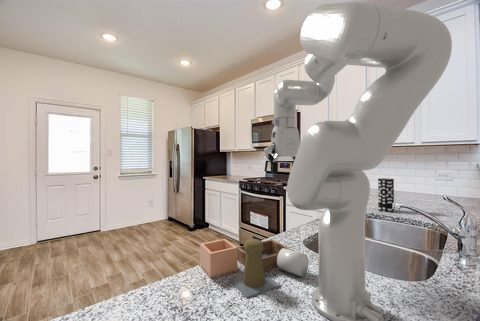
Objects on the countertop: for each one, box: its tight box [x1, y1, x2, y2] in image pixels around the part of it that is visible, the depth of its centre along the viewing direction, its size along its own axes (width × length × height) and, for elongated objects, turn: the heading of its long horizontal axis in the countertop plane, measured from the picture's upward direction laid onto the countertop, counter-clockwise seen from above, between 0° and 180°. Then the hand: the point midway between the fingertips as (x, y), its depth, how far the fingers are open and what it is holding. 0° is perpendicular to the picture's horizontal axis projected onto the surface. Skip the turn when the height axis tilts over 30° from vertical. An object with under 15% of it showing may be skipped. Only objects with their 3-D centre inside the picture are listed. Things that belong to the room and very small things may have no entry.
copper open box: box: [199, 238, 239, 280], centre depth 68 cm, size 9×9×7 cm
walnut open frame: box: [236, 239, 295, 273], centre depth 73 cm, size 12×15×4 cm
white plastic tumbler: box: [277, 248, 309, 278], centre depth 66 cm, size 7×6×6 cm
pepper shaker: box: [243, 238, 265, 288], centre depth 60 cm, size 6×6×11 cm
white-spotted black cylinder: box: [377, 177, 395, 213], centre depth 141 cm, size 8×8×20 cm
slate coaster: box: [228, 272, 281, 299], centre depth 60 cm, size 10×10×1 cm
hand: (285, 173), depth 79 cm, fingers open, 9 cm apart
